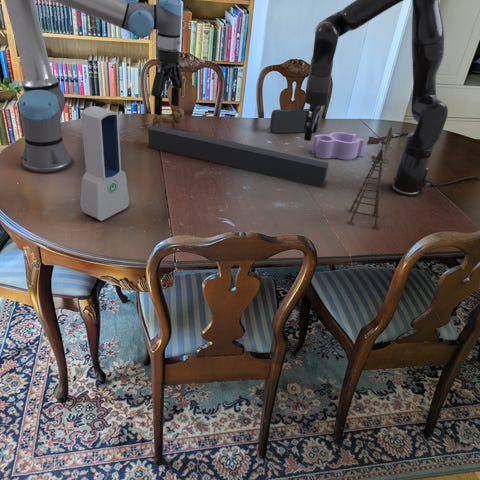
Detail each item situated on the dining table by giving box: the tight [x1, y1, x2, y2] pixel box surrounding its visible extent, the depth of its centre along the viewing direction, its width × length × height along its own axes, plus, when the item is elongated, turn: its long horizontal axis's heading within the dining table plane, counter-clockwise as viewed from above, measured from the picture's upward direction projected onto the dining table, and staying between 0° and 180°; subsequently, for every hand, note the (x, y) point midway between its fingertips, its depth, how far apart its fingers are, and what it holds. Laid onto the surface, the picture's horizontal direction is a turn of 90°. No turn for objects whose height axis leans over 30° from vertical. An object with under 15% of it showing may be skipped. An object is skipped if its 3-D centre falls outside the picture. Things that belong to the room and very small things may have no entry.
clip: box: [311, 131, 366, 161], centre depth 190 cm, size 20×12×7 cm, turn 109°
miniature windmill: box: [349, 126, 393, 228], centre depth 139 cm, size 9×8×30 cm
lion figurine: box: [149, 107, 185, 130], centre depth 195 cm, size 15×5×9 cm, turn 110°
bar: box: [147, 124, 329, 188], centre depth 172 cm, size 68×5×7 cm, turn 71°
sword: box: [376, 132, 410, 141], centre depth 214 cm, size 31×3×1 cm, turn 126°
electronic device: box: [79, 105, 130, 222], centre depth 129 cm, size 12×8×30 cm, turn 148°
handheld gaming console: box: [269, 108, 320, 134], centre depth 207 cm, size 23×3×10 cm, turn 108°
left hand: (166, 110), depth 172 cm, fingers open, 13 cm apart
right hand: (310, 136), depth 159 cm, fingers open, 8 cm apart
